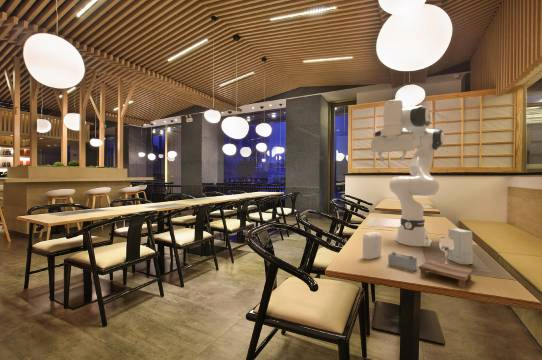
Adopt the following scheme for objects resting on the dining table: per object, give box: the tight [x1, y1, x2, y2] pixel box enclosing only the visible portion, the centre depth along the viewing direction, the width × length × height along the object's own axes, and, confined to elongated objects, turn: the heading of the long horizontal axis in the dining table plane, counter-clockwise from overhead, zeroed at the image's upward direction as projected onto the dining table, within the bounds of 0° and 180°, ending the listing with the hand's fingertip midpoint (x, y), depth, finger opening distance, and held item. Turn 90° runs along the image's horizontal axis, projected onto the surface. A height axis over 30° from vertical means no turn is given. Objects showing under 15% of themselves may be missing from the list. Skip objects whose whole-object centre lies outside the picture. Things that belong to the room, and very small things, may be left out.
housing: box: [387, 251, 418, 273], centre depth 115 cm, size 4×10×6 cm, turn 44°
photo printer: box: [362, 231, 382, 260], centre depth 128 cm, size 10×4×12 cm, turn 123°
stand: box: [418, 259, 474, 289], centre depth 104 cm, size 12×15×4 cm
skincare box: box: [447, 228, 474, 265], centre depth 123 cm, size 8×6×15 cm
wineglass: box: [438, 236, 455, 265], centre depth 119 cm, size 6×6×12 cm
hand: (391, 160), depth 132 cm, fingers open, 8 cm apart
